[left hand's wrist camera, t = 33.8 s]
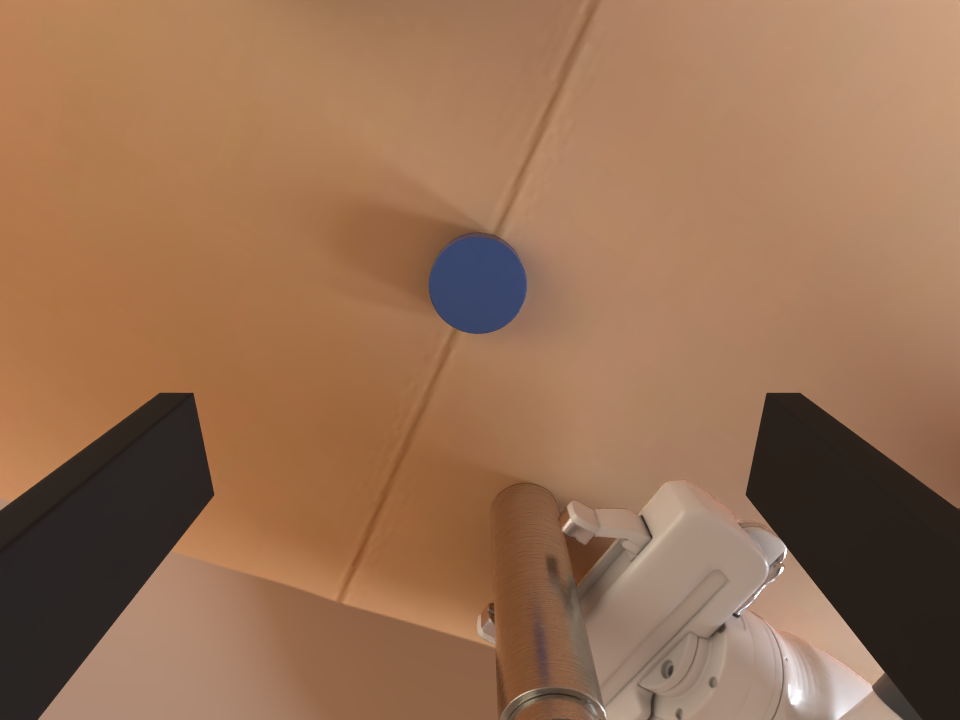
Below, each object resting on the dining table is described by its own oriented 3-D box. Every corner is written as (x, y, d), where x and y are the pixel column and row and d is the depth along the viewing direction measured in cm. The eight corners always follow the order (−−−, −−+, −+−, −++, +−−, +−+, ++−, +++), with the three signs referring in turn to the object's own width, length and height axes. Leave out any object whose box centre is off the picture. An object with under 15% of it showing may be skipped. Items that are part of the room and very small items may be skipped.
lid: (463, 213, 33) (462, 217, 30) (542, 266, 34) (546, 272, 32) (414, 293, 34) (410, 301, 32) (491, 340, 35) (491, 351, 33)
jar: (572, 512, 40) (641, 771, 23) (523, 551, 41) (554, 825, 24) (526, 470, 39) (563, 712, 22) (477, 512, 40) (475, 772, 23)
